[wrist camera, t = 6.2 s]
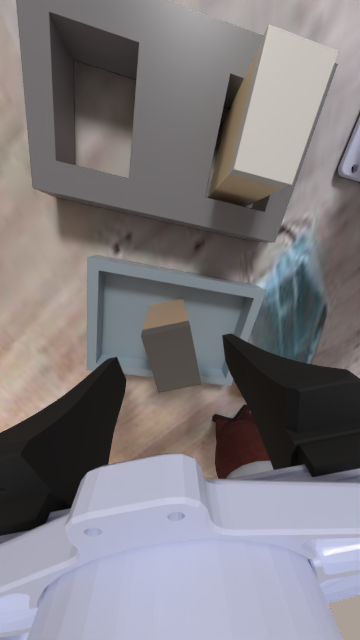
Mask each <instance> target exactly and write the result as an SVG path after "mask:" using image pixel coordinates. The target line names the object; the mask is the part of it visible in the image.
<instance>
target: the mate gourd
mask: <svg viewBox="0 0 360 640" xmlns="http://www.w3.org/2000/svg"><path fill="white" fill-rule="evenodd" d="M249 411H250V410H249V407H248V405H243V407H242V408H241V409H240V411H239V412H238V413H237V415H236V416H235V417H234V418H228V417H224V416H221V415H217V414H215V415H214V416H213V417H212V418H213V421H214V422H216V441H217V443H216V453H215V465H216V472H217V475H218V478H219V479H229V478H235V477H240V476H245V475H250V474H256V473H261V472H266V471H272V470H274V469H273V467H272V464H271V461H270V459H269V456H268V454H267V451H266V449H265V446H264V444H263V441H262V438H261V436H260V434H259V431H258V429H257V426H256V424H255V421H254V419H253V417H252V414H251V413H250V412H249Z"/></svg>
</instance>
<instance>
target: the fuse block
mask: <svg viewBox="0 0 360 640" xmlns="http://www.w3.org/2000/svg"><path fill="white" fill-rule="evenodd" d="M16 4H17V15H18V26H19V38H20V49H21V61H22V72H23V84H24V95H25V106H26V118H27V129H28V141H29V152H30V164H31V175H32V187H33V188H34V189H36V190H39V191H41V192H44V193H46V194H49V195H51V196H54V197H57V198H61V199H66V200H70V201H75V202H79V203H84V204H88V205H93V206H97V207H102V208H106V209H111V210H115V211H120V212H124V213H129V214H133V215H138V216H142V217H147V218H151V219H156V220H160V221H165V222H169V223H174V224H178V225H183V226H187V227H192V228H196V229H201V230H205V231H210V232H214V233H219V234H223V235H228V236H232V237H237V238H241V239H246V240H250V241H255V242H275V240H276V237H277V234H278V231H279V229H280V226H281V223H282V220H283V217H284V214H285V212H286V209H287V206H288V203H289V200H290V197H291V195H292V192H293V189H294V186H295V183H296V181H297V178H298V175H299V172H300V169H301V166H302V164H303V161H304V158H305V155H306V152H307V149H308V147H309V144H310V141H311V138H312V135H313V132H314V130H315V127H316V124H317V121H318V118H319V115H320V113H321V110H322V107H323V104H324V101H325V98H326V96H327V93H328V90H329V87H330V84H331V82H332V79H333V76H334V73H335V70H336V67H337V65H338V64H336V63H334V66H333V68H332V71H331V74H330V77H329V80H328V83H327V86H326V89H325V91H324V94H323V97H322V100H321V103H320V106H319V109H318V111H317V114H316V117H315V120H314V123H313V126H312V129H311V132H310V134H309V137H308V140H307V143H306V146H305V149H304V152H303V155H302V157H301V160H300V163H299V166H298V169H297V172H296V175H295V178H294V180H293V183H292V185H290V186H288V187H286V188H284V189H282V190H280V191H277V192H275V193H273V194H271V195H269V196H267V197H264V198H262V199H260V200H258V201H256V202H254V204H253V207H252V209H251V208H247V207H243V206H239V205H234V204H230V203H226V202H222V201H218V200H214V199H210V198H206V197H205V194H206V189H207V184H208V179H209V174H210V169H211V165H212V160H213V155H214V150H215V145H216V140H217V135H218V131H219V126H220V121H221V116H222V111H223V107H225V108H228V109H230V107H231V105H232V103H233V101H234V99H235V97H236V94H237V92H238V90H239V88H240V86H241V84H242V82H243V79H244V77H245V75H246V73H247V71H248V69H249V67H250V64H251V62H252V60H253V58H254V56H255V54H256V52H257V49H258V47H259V45H260V43H261V41H262V39H263V36H262V35H259V34H257V33H254V32H251V31H249V30H246V29H244V28H241V27H238V26H236V25H233V24H230V23H228V22H225V21H222V20H220V19H217V18H214V17H212V16H209V15H206V14H204V13H201V12H199V11H196V10H193V9H191V8H188V7H185V6H183V5H180V4H177V3H175V2H172V1H169V0H16ZM74 60H76V61H79V62H82V63H85V64H88V65H92V66H95V67H98V68H101V69H104V70H107V71H111V72H114V73H117V74H120V75H123V76H127V77H130V78H133V79H136V92H135V106H134V119H133V133H132V146H131V159H130V173H129V178H125V177H121V176H117V175H112V174H108V173H104V172H100V171H96V170H92V169H88V168H84V167H80V166H76V165H75V112H74Z"/></svg>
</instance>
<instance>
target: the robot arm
mask: <svg viewBox="0 0 360 640" xmlns="http://www.w3.org/2000/svg"><path fill="white" fill-rule="evenodd" d="M352 167H353V172H351V168H352ZM338 174H339V175H340V176H341V177H344V178H348V179H351V180H355V181H358V182H360V117H359V119H358V122H357V124H356V126H355V129H354V131H353V134H352V136H351V139H350V141H349V143H348V146H347V148H346V151H345V153H344V155H343V158H342V160H341V163H340V165H339V168H338ZM222 338H223V346H224V355H225V361H226V364H227V366H228V369H229V372H230V374H231V376H232V377H233V379H234V381H235V383H236V385H237V387H238V388H239V390H240V392H241V394H242V396H243V397H244V399H245V401H246V403H247V405H248V407H249V410H250V412H251V414H252V417H253V419H254V421H255V424H256V426H257V429H258V431H259V434H260V436H261V438H262V441H263V444H264V446H265V449H266V451H267V454H268V456H269V459H270V461H271V464H272V467H273V469H274V470H272V471H266V472H261V473H256V474H250V475H245V476H240V477H235V478H229V479H205V478H204V476H203V472H202V468H201V466H200V465H199V463H198V462H197V461H196V459H194V458H193V457H191V456H188V455H185V454H183V453H166V454H161V455H156V456H150V457H145V458H140V459H135V460H130V461H124V462H119V463H114V464H109V465H108V462H109V455H110V449H111V444H112V438H113V433H114V429H115V425H116V422H117V418H118V415H119V412H120V408H121V405H122V401H123V398H124V394H125V387H126V378H125V376H124V373H123V371H122V368H121V366H120V363H119V361H118V358H117V357H113V358H108V359H107V360H105V361H104V362H103V363H102V364H101V365H99V366H98V367H97V368H96V369H95V370H94V371H93V372H92V373H91V374H89V375H88V376H87V377H86V378H85V379H84V380H82V381H81V382H80V383H79V384H78V385H76V386H75V387H74V388H73V389H72V390H70V391H69V392H68V393H66V394H65V395H64V396H62V397H61V398H59V399H58V400H57V401H55V402H54V403H52V404H51V405H49V406H47V407H46V408H44V409H43V410H41V411H40V412H38V413H36V414H35V415H33V416H31V417H29V418H28V419H26V420H24V421H22V422H20V423H19V424H17V425H15V426H13V427H11V428H9V429H7V430H5V431H3V432H1V433H0V640H344V639H343V637H342V635H341V632H340V630H339V628H338V626H337V623H336V621H335V619H334V617H333V614H332V612H331V610H330V608H329V605H328V604H329V603H333V602H337V601H340V600H344V599H347V598H351V597H355V596H358V595H360V378H358V377H357V376H355V375H354V374H353V373H351V372H350V371H348V370H346V369H338V368H330V367H322V366H317V365H312V364H306V363H302V362H298V361H294V360H290V359H287V358H283V357H280V356H277V355H275V354H272V353H269V352H267V351H264V350H262V349H260V348H258V347H256V346H254V345H252V344H250V343H248V342H246V341H244V340H242V339H241V338H239V337H237V336H235V335H233V334H232V333H230V334H225V335H222Z"/></svg>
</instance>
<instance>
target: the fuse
mask: <svg viewBox="0 0 360 640" xmlns="http://www.w3.org/2000/svg"><path fill="white" fill-rule="evenodd" d="M337 54H338V51H337V50H334V49H332V48H329V47H326V46H324V45H321V44H319V43H316V42H313V41H311V40H308V39H306V38H303V37H301V36H298V35H295V34H293V33H290V32H288V31H285V30H282V29H280V28H277V27H275V26H272V25H269V26H268V28H267V30H266V32H265V34H264V36H263V39H262V41H261V43H260V45H259V47H258V49H257V52H256V54H255V56H254V58H253V60H252V62H251V64H250V67H249V69H248V71H247V73H246V75H245V77H244V79H243V82H242V84H241V86H240V88H239V90H238V92H237V94H236V97H235V99H234V101H233V103H232V105H231V107H230V109H229V112H228V114H227V116H226V118H225V120H224V125H223V129H222V134H221V139H220V143H219V148H218V153H217V158H216V162H215V167H214V172H213V177H212V181H211V186H210V191H209V196H208V198H212V199H216V200H220V201H224V202H228V203H232V204H236V205H241V206H247V205H249V204H251V203H254V202H256V201H258V200H260V199H262V198H264V197H267V196H269V195H271V194H273V193H275V192H277V191H280V190H282V189H284V188H286V187H288V186H290V185H292V183H293V180H294V178H295V175H296V172H297V169H298V166H299V163H300V160H301V157H302V155H303V152H304V149H305V146H306V143H307V140H308V137H309V134H310V132H311V129H312V126H313V123H314V120H315V117H316V114H317V111H318V109H319V106H320V103H321V100H322V97H323V94H324V91H325V89H326V86H327V83H328V80H329V77H330V74H331V71H332V68H333V66H334V63H335V60H336V57H337Z"/></svg>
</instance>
